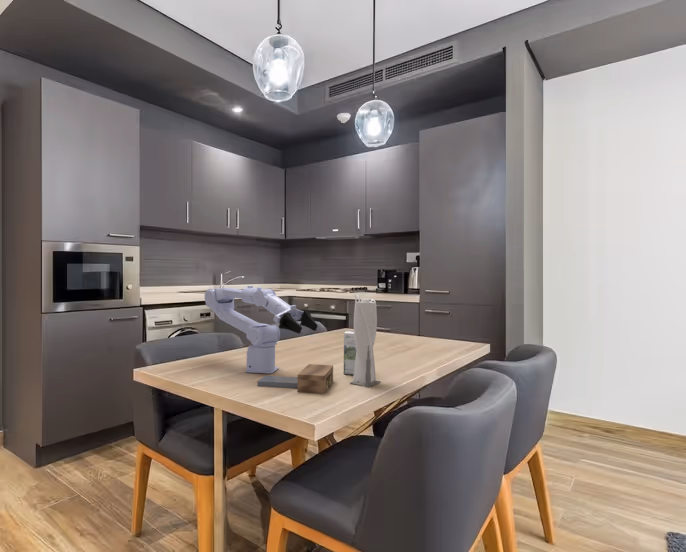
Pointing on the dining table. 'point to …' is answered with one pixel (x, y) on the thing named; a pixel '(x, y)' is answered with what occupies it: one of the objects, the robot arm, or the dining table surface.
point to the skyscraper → (365, 342)
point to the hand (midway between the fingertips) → (308, 329)
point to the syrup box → (349, 352)
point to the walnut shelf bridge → (315, 378)
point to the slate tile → (278, 381)
